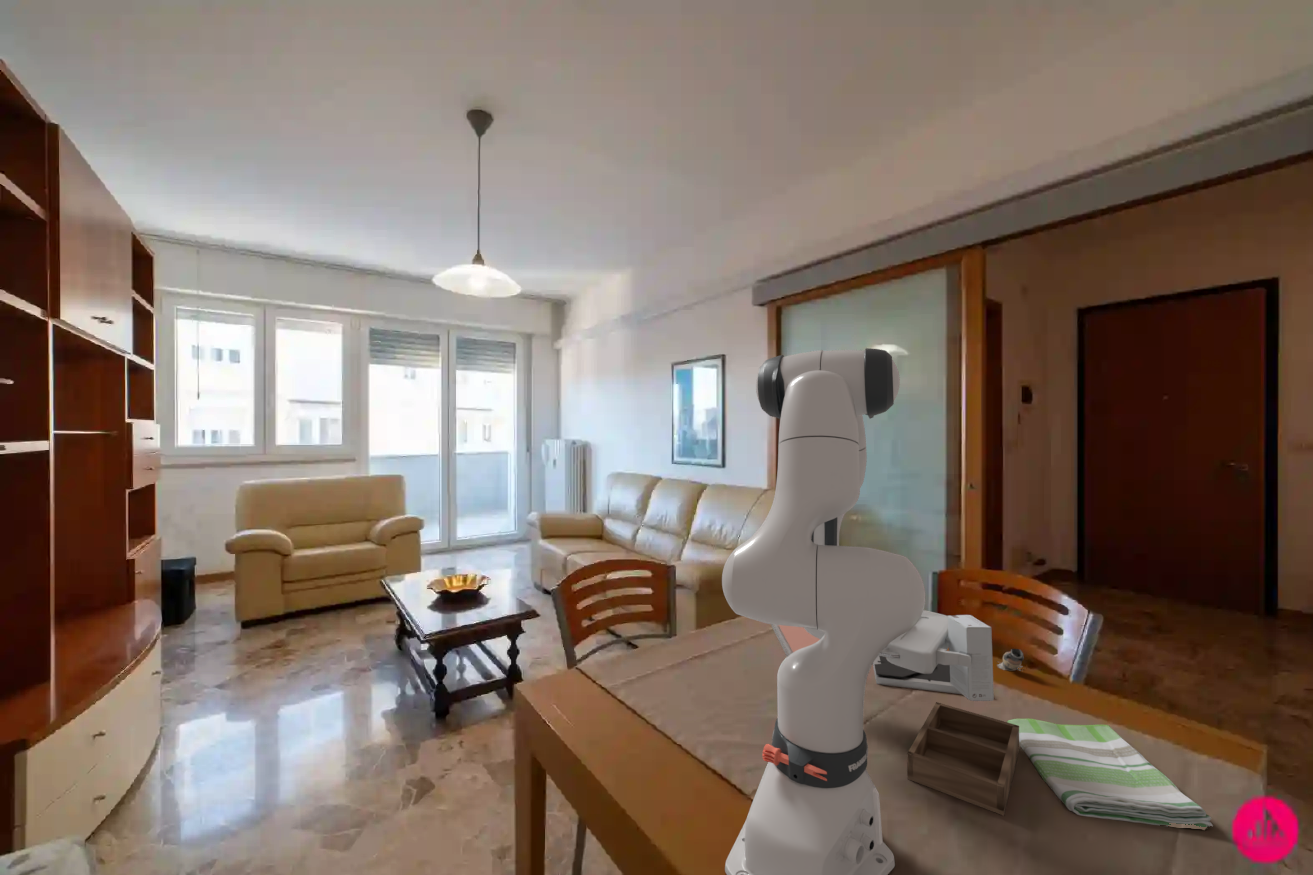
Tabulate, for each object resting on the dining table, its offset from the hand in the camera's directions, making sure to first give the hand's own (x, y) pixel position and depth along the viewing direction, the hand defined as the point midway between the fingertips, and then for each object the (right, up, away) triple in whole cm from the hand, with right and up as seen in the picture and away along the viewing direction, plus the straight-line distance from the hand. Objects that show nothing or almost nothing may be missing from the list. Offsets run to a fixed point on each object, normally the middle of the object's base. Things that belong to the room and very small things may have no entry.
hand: (976, 651), depth 88 cm
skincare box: (-1, -7, +1) cm, 7 cm away
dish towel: (+16, -17, -5) cm, 24 cm away
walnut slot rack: (-3, -17, -3) cm, 18 cm away
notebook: (-14, -17, +48) cm, 52 cm away
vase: (+25, -16, +28) cm, 41 cm away
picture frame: (+6, -17, +28) cm, 34 cm away
